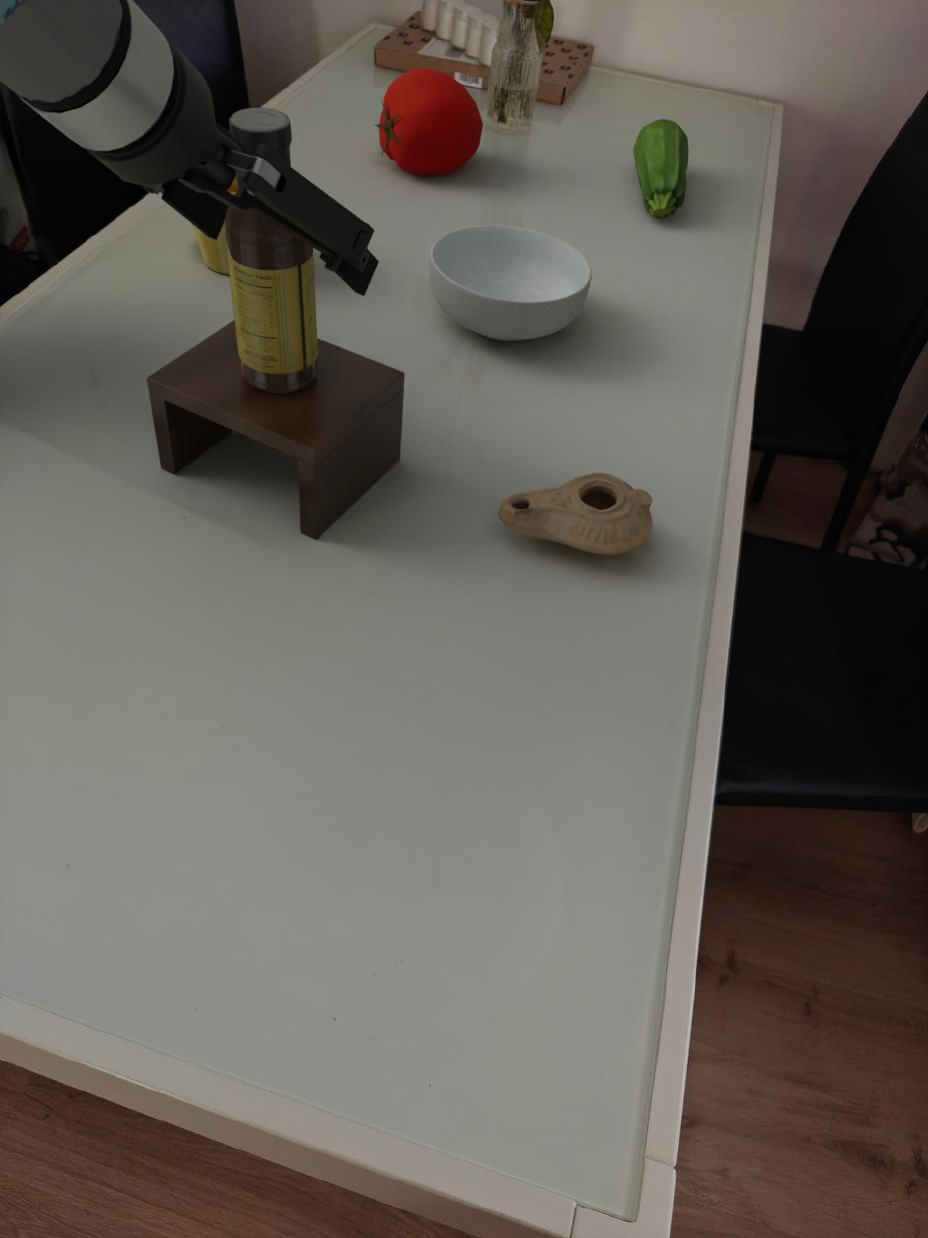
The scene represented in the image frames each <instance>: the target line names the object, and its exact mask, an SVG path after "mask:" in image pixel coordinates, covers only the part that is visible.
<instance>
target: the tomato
mask: <svg viewBox="0 0 928 1238" xmlns="http://www.w3.org/2000/svg"><path fill="white" fill-rule="evenodd" d="M380 99H381V105H382V107H383V108H382V110H381V112H380V117H379V122H378V123H376V124H374V126H376V127H377V128H378V140H379V146H380V148H381V149H382V151H381V155H383V153H385V155H386V156H387V158H388V159H389V160H391V161H393V162H395V164H396V166H398V167H399V168H400V169H402V170H403V171H404V172H408V173H409V174H412V175H413V174H414V175H415V176H442V175H446V174H450V173H454V172H455V173H456V172H457V171H459V170H460V169H462V168H463V167H465V166H466V165H467V163H469V161H470V160H471V159H472V158H473V157H474V156H475V155H476V153H477V151H478V149H479V147H480V146H481V145H480V144H481V140H482V134H483V128H484V123H483V122H484V121H483V120H482V116H481V112H480V110H479V108H478V104H477V102H476V100H475V99H474V97H473V96H472V95H471V94H470V92H469V91H468V89H467V88H466V87H465V86H464V85H463V84H462V83H460V82H459V81H458V80H456V78H454V77H453V76H452V75H450V74H449V73H447V72H443V71H441V70H439V69H434V68H430V67H419V68H413V69H410V70H408V71H406V72H405V73H403V74H401V75H399V76H398V77H395V79H394V80H393V81H392V82H391V83H390V84H389V86H388V87H387V88H386V91H385V94H384V96H383V99H382V98H380Z"/></svg>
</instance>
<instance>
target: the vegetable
mask: <svg viewBox="0 0 928 1238" xmlns="http://www.w3.org/2000/svg"><path fill="white" fill-rule="evenodd" d="M632 152H633V153H632V154H633V157H634V164H635V170H636V174H637V178H638V183H639V186H640V190H641V194H642V198H643V200H642V201H643V208H644V210H646V211H647V212H649V214H651V216H653V217H659V218H665V219H666V217H669V216H670V215H673V214H675V213H676V212H677V210H678V209H680V208H681V207H682V206H684V204H685V200H686V199H685V198H686V189H687V170H688V165H689V139H688V136H687V134H686V133H685V131H684V130H683V129H682V128H681V126H680V125H679V124H678V123H677V122H676V121H674V120H670V119H666V118H660V119H656V120H654V121H652V122H650V123H648V124H646V125H645V126H643V127H642V128H641V129H640V130H639V133H638V134H637V137H636V140H635V143H634V144H633V147H632Z"/></svg>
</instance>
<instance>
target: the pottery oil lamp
mask: <svg viewBox="0 0 928 1238" xmlns="http://www.w3.org/2000/svg"><path fill="white" fill-rule="evenodd" d="M653 499H654V498H653V497H652V495H651V494H650V493H649V491H647V490H643V489H640V488H634V487H633V486H631V485H630V484H629V483H628V482H626V481H624V480H622V479H621V478H620V477H617V476H615V475H614V474H611V473H608V472H607V473H606V472H591V473H588V474H585V475H582V476H581V475H578V476H576V477H574V478H572V479H571V480H569V481H567V482H565V483H563V484H562V485H559V486H556V487H552V488H546V489H539V490H532V491H527V492H525V491H524V492H519V493H515V494H511V495H509V496H507V497H506V498H504V499H503V500H502V502H501V503H500V506H499V508H498V510H497V516H498V518H499V520H500V521H501V522H502V524H503V525H504V527H506V528H508V529H509V530H511V531H513V532H516V533H519V534H521V535H524V536H529V537H533V538H536V539H542V540H545V541H551V542H554V543H559V544H563V545H566V546H569V547H570V548H572V549H574V550H577V551H581V552H585V553H591V554H594V555H595V554H596V555H618V554H619V555H620V554H623V553H628V552H630V551H632V550H635V549H637V548H639V547H640V546H641V545H642V544H644V542H645V541H646V540H647V539H648V538H649V536H650V534H651V532H652V529H653V518H652V513H651V510H650V508H651V505H652V504H653V501H654V500H653Z"/></svg>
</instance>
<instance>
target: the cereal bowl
mask: <svg viewBox="0 0 928 1238" xmlns="http://www.w3.org/2000/svg"><path fill="white" fill-rule="evenodd" d="M428 261H429V262H428V270H429V271H428V272H429V273H428V277H429V284H430V288H431V291H432V295H433V296H434V300H435V301H436V302H437V304H438V306H440V309H441V310H443V311H444V313H445V314H447V316H449V318H451V319H452V320H453V321H455V322H456V323H457V324H459V325H461V326H462V327H463V328H466V329H468V330H470V331H473V332H475V333H476V334H479V335H481V336H483V337H485V338H488V339H490V340H494V341H502V342H518V341H522V340H533V339H539V338H542V337H545V336H550V335H553V334H555V333H556V332H558V331H561V330H562V329H564V328H566V326H568V325H569V324H571V322H573V321H574V320H575V318H576V317H577V316H578V315H579V313H580V312H581V310H582V309H583V307H584V305H585V302H586V301H587V297H588V294H589V292H590V288H591V284H592V283H591V282H592V280H593V279H592V268H591V265H590V262H589V261H588V259H587V258H586V257H585V255H584V254H583V253H581V252H580V251H579V250H578V249H577V248H575V247H574V246H572V245H571V244H569V243H568V242H566V241H564V240H562V239H560V238H558V237H555V236H554V235H551V234H548V233H545V232H543V231H539V230H536V229H531V228H526V227H521V226H514V225H502V224H501V225H500V224H482V225H472V226H465V227H461V228H458V229H454V230H451V231H449V232H447V233H445V234H443V235H442V236H440V237H439V238H437V240H435V242H434V243H433V244H432V246H431V248H430V252H429V259H428Z"/></svg>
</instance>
